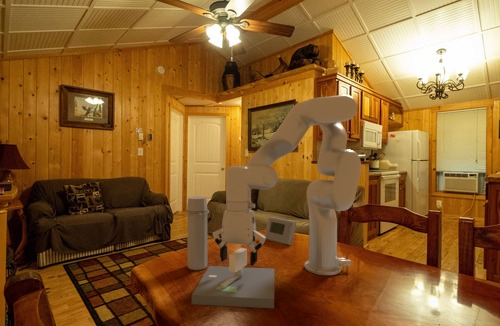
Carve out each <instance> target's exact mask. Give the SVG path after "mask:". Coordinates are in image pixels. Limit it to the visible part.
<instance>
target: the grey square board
mask: <svg viewBox="0 0 500 326" xmlns="http://www.w3.org/2000/svg"><path fill="white" fill-rule="evenodd" d="M233 275H234V272H231V271H229V266H221V265H220V266H218V265H217V266H215V265H209V266H207V269H206V271H205V272H204V274H203V276H202V277H201V279H200V281H199V282H198V283H197V286H196V287H195V289H194V291H193V292H192V294H191V305H197V306H198V305H201V306H202V305H203V306H221V307H222V306H223V307H237V308H239V307H240V308H261V309H275V268H268V267H267V268H265V267H246V266H244V267H243V268H242V278H241V279H236V280H234V281H233V282H232V283H230V284H229V285H228V286H226V287H225V288H220V284H222V283H223V282H224V281H226V280H227V279H229V278H230V277H232V276H233Z"/></svg>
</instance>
